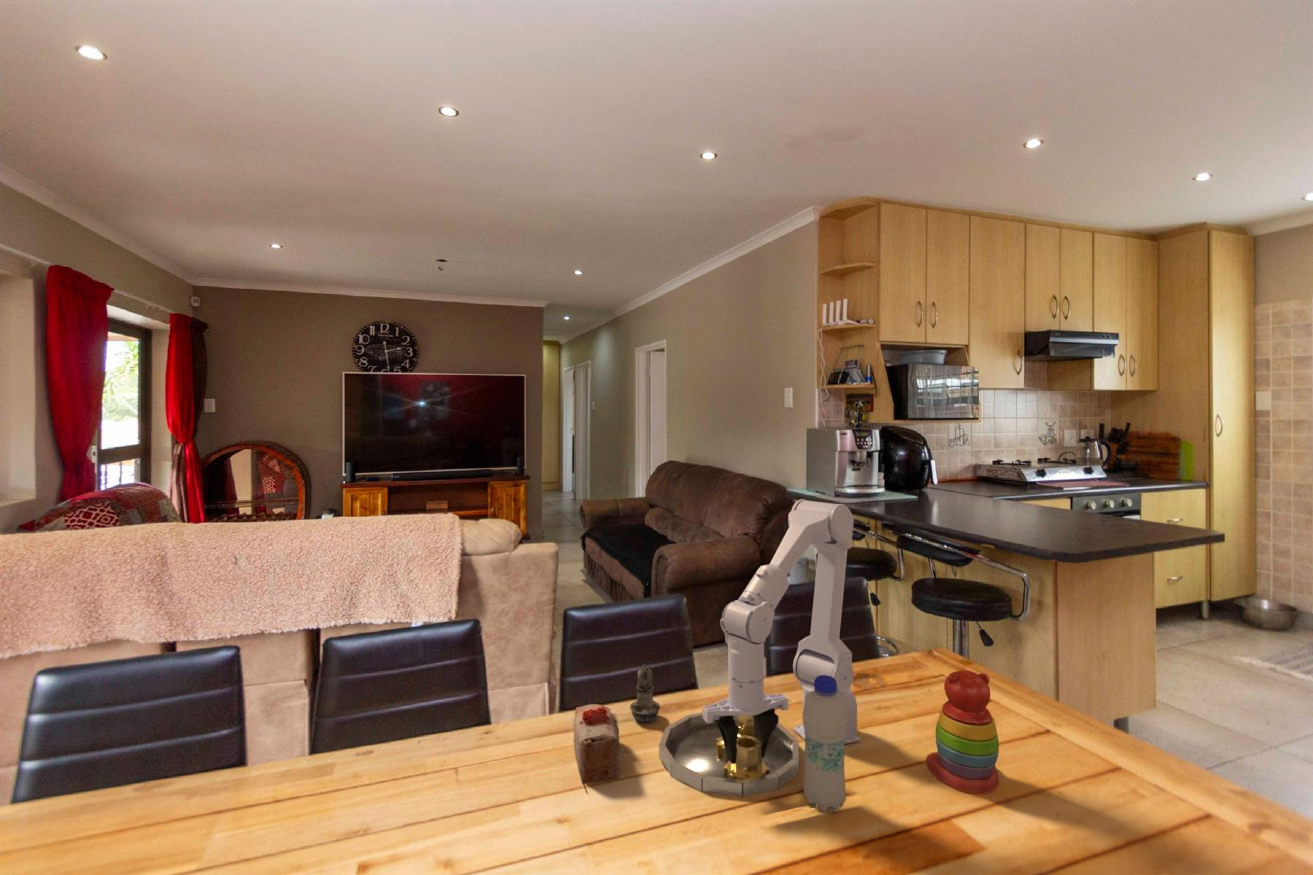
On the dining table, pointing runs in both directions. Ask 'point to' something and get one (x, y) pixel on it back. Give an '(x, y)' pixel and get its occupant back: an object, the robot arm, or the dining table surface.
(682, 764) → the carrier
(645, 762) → the dining table surface
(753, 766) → the planet gear
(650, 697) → the grey chess piece
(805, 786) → the bottle
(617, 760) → the food item
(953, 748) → the stacking bear
